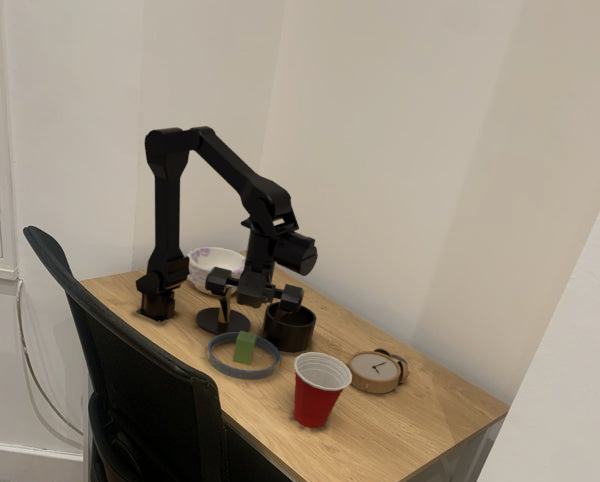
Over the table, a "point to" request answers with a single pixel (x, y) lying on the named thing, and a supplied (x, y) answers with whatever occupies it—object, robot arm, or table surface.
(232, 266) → the paper bowls
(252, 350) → the green block
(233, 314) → the tin lid
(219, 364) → the blue-grey round rimmed part
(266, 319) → the tin
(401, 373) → the alarm clock
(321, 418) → the plastic cup
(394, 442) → the table surface
